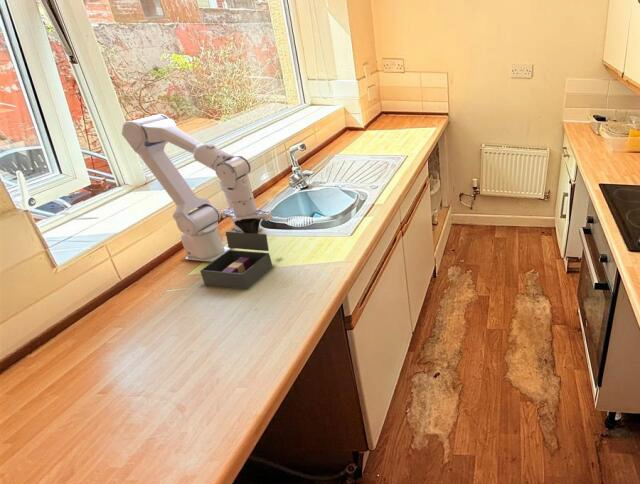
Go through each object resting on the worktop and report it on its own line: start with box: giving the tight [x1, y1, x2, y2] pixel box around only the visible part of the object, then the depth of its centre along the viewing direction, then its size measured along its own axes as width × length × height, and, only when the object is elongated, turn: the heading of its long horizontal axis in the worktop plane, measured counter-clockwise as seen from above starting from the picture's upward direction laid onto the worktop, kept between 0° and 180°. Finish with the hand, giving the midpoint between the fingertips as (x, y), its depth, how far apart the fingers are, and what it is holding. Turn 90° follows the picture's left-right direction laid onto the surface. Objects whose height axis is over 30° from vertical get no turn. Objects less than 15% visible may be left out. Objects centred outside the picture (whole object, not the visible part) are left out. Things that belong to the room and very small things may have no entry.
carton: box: [199, 249, 274, 290], centre depth 115 cm, size 13×11×5 cm
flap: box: [225, 230, 270, 252], centre depth 118 cm, size 13×5×1 cm
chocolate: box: [221, 257, 252, 274], centre depth 115 cm, size 3×8×4 cm, turn 173°
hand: (253, 239), depth 121 cm, fingers closed, pressing on flap
